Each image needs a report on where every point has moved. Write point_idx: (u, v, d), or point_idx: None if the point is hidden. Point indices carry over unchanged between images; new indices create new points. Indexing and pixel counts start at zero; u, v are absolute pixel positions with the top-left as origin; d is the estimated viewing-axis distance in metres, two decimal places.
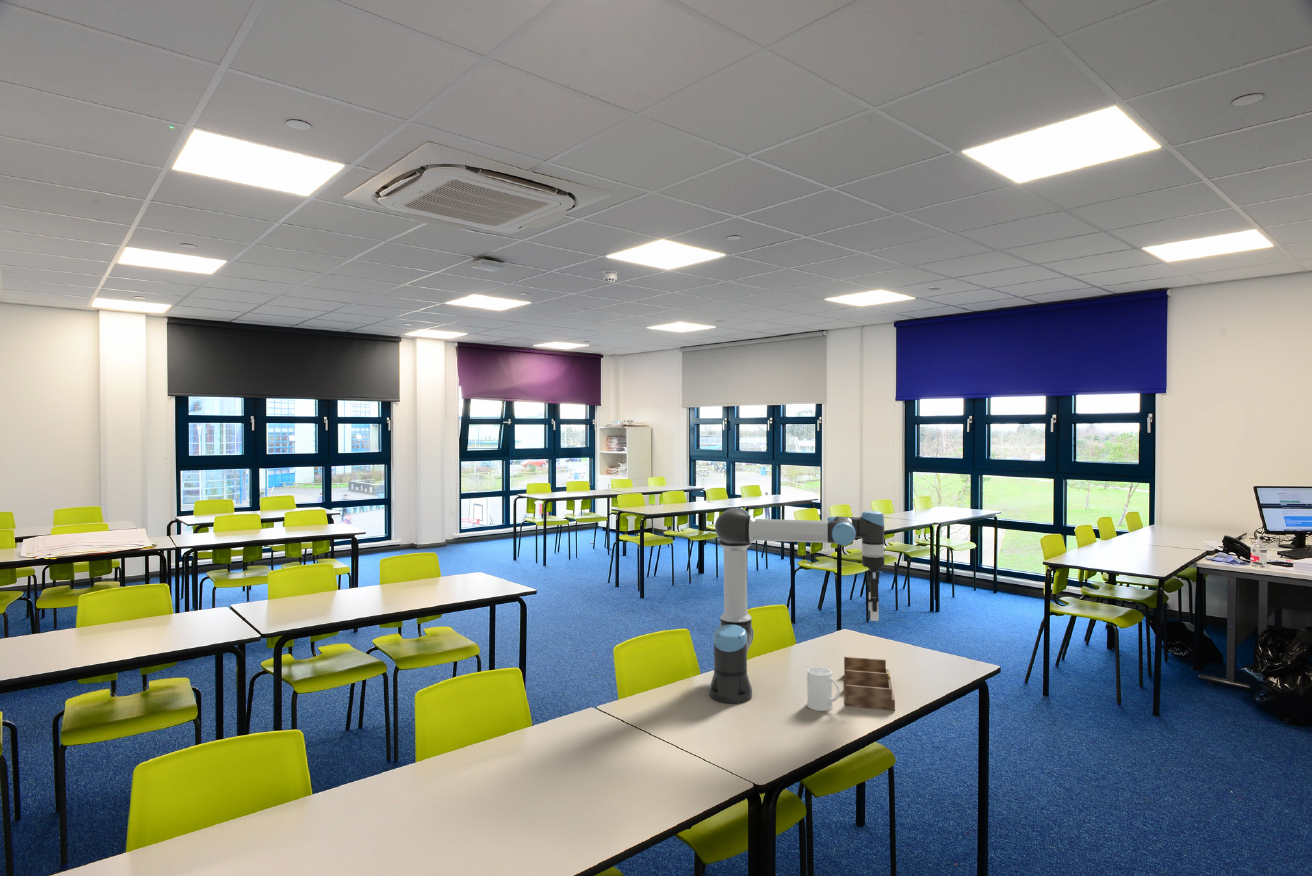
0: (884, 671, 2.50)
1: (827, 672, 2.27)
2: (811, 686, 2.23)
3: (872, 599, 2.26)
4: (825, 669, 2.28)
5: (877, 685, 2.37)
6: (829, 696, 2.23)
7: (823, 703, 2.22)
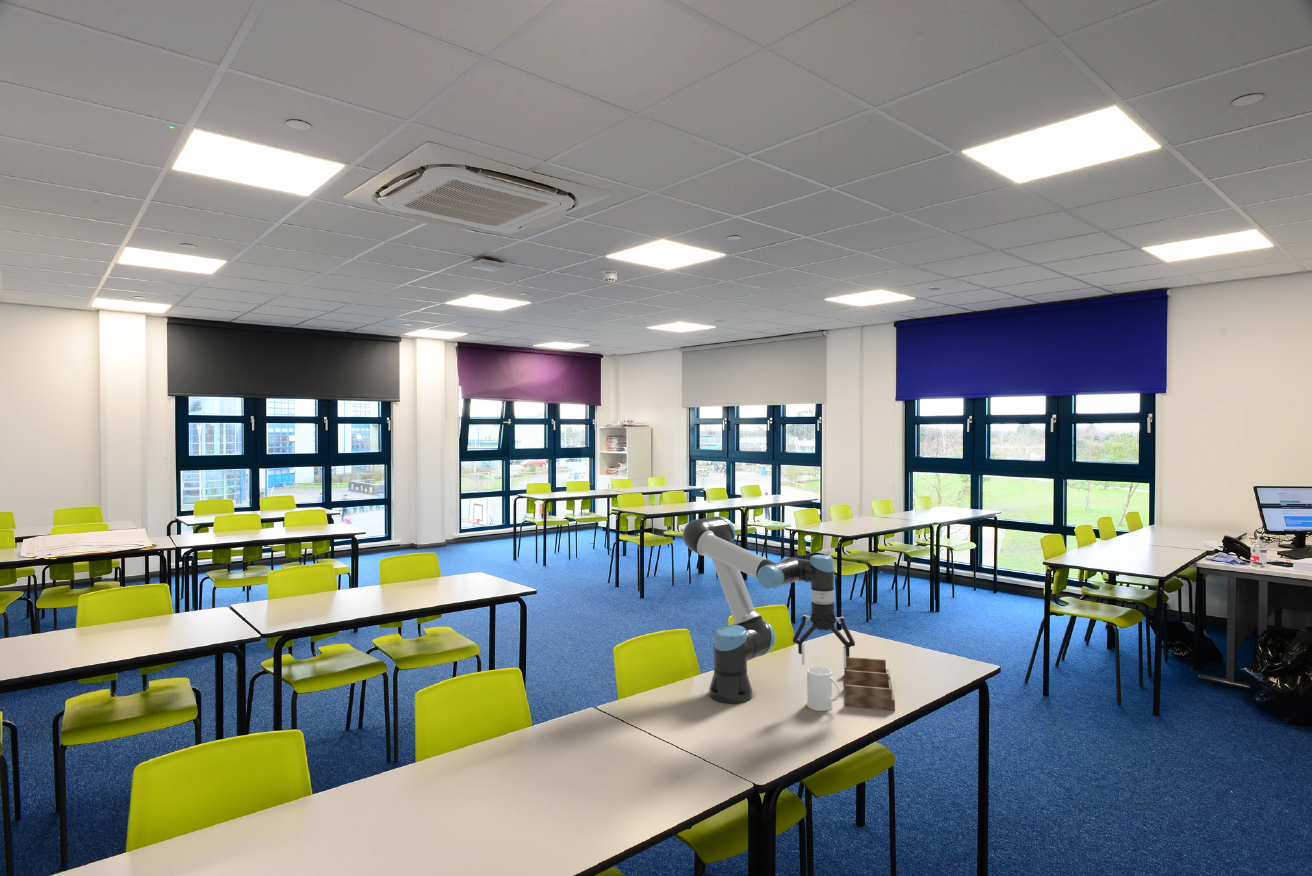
0: (884, 671, 2.50)
1: (827, 672, 2.27)
2: (811, 686, 2.23)
3: (793, 638, 2.28)
4: (825, 669, 2.28)
5: (877, 685, 2.37)
6: (829, 696, 2.23)
7: (823, 703, 2.22)
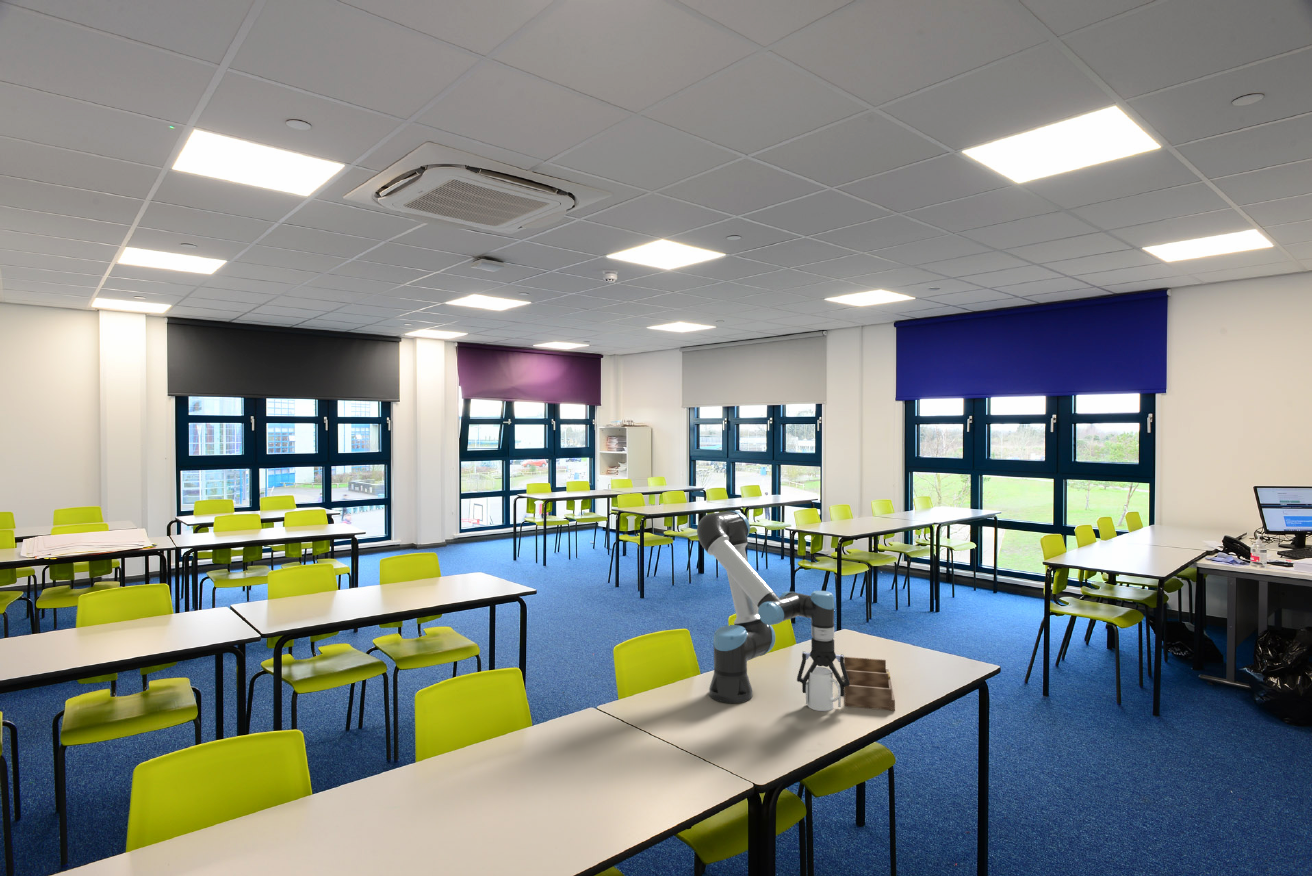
0: (884, 671, 2.50)
1: (828, 672, 2.27)
2: (812, 686, 2.23)
3: (797, 677, 2.27)
4: (826, 669, 2.28)
5: (877, 685, 2.37)
6: (830, 696, 2.23)
7: (824, 703, 2.22)
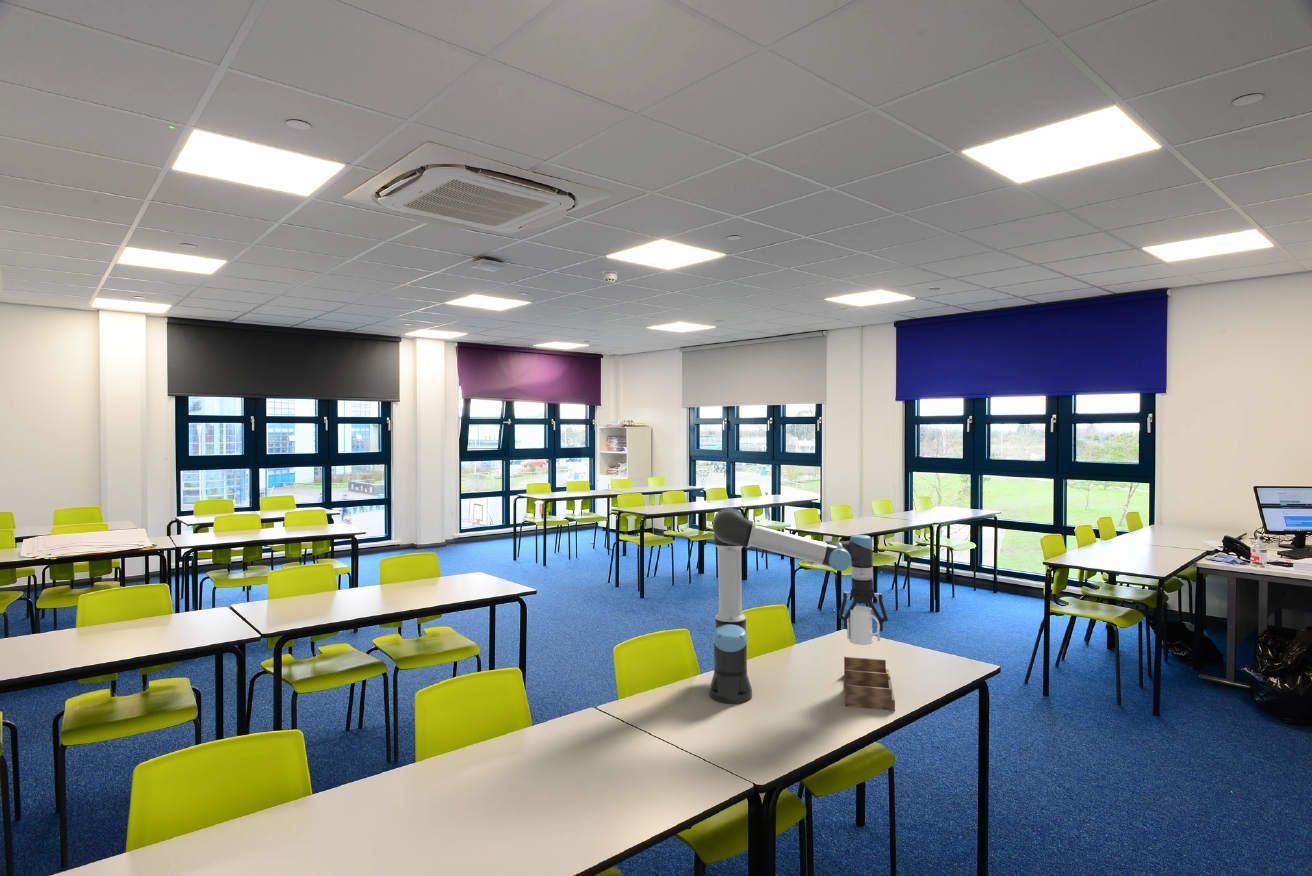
0: (884, 671, 2.50)
1: (867, 610, 2.46)
2: (853, 623, 2.42)
3: None
4: (865, 608, 2.46)
5: (877, 685, 2.37)
6: (870, 631, 2.41)
7: (864, 637, 2.40)
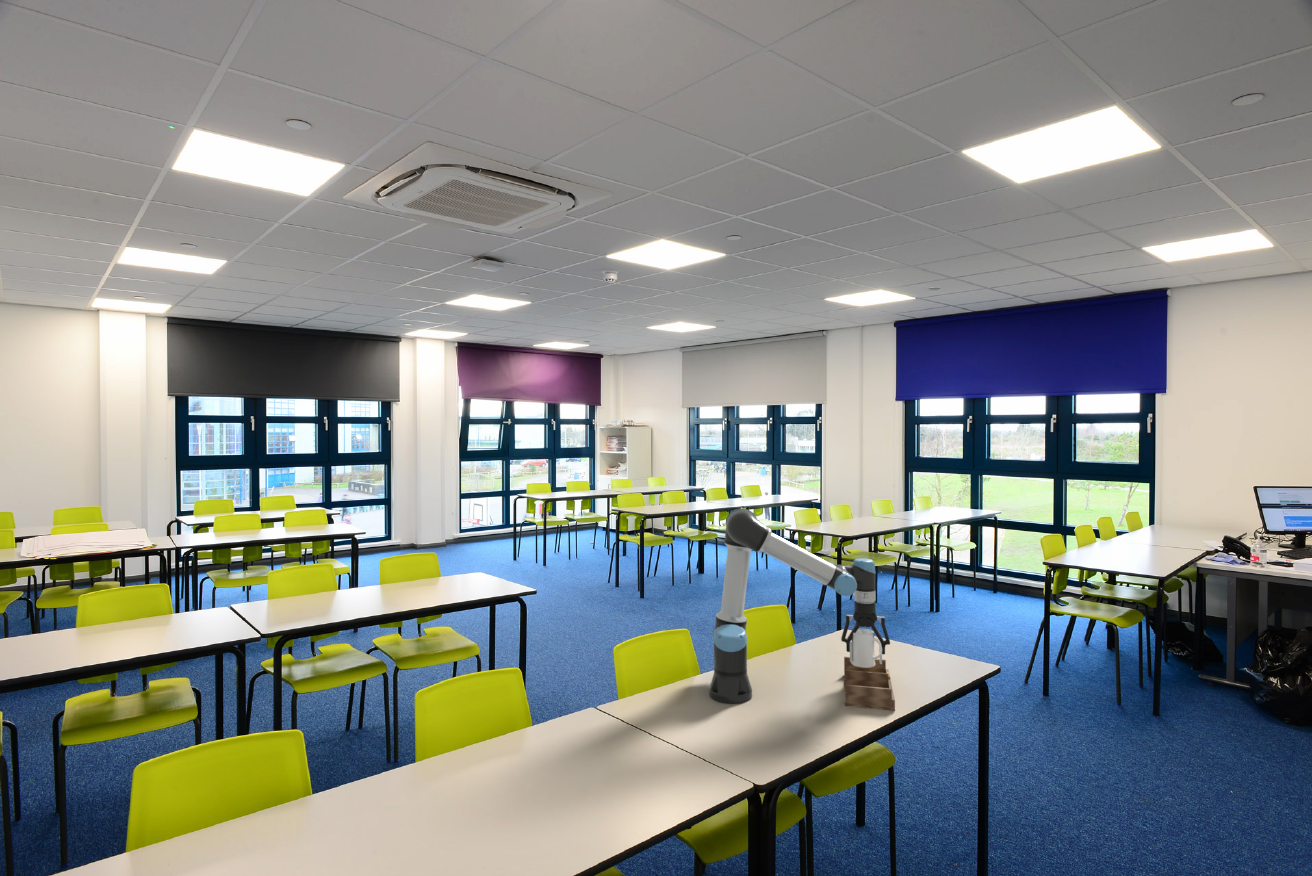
0: (884, 671, 2.50)
1: (870, 633, 2.48)
2: (856, 646, 2.44)
3: (841, 638, 2.48)
4: (868, 630, 2.48)
5: (877, 685, 2.37)
6: (872, 654, 2.43)
7: (867, 660, 2.42)
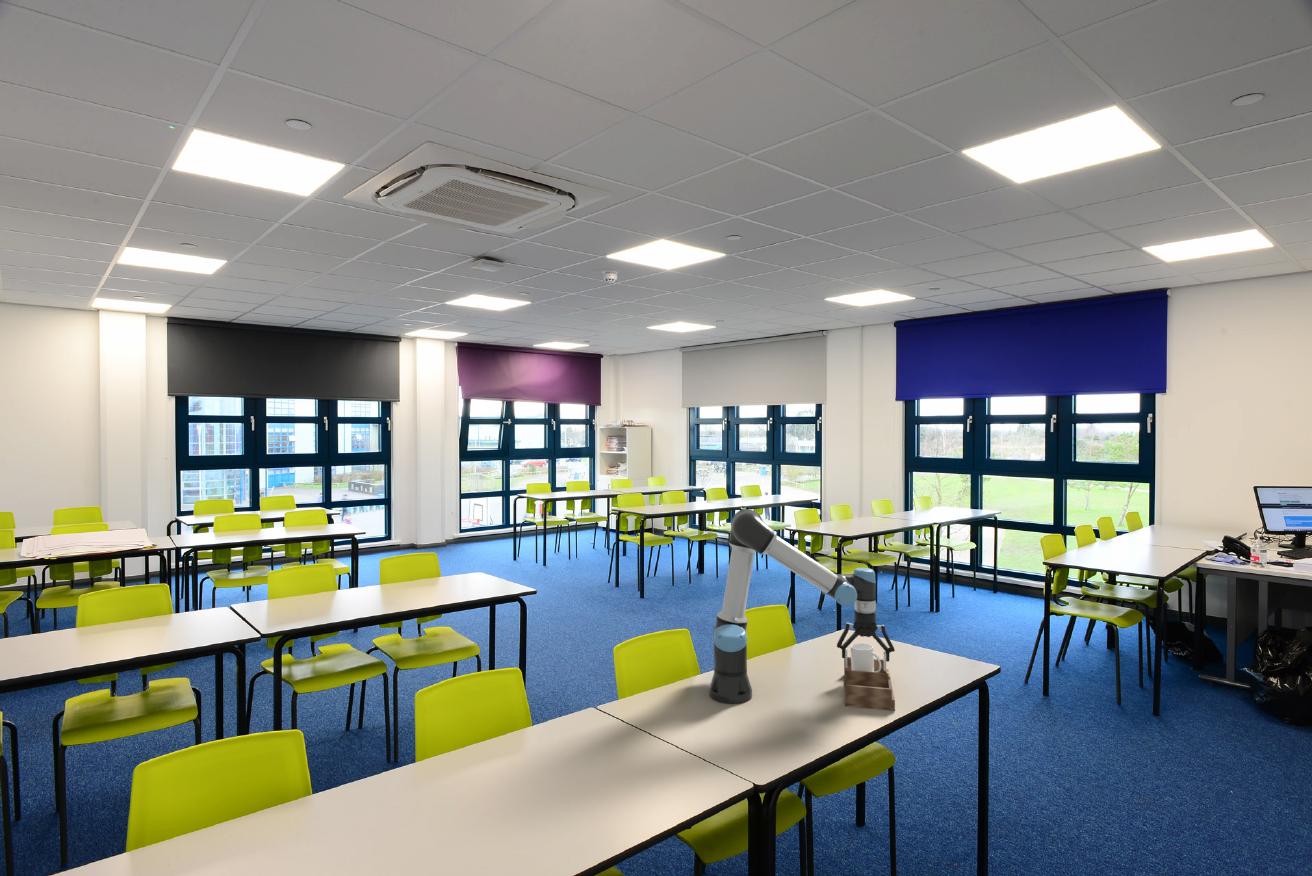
0: (884, 671, 2.50)
1: (869, 648, 2.48)
2: (855, 661, 2.44)
3: (837, 644, 2.48)
4: (867, 645, 2.49)
5: (877, 685, 2.37)
6: (872, 669, 2.43)
7: None
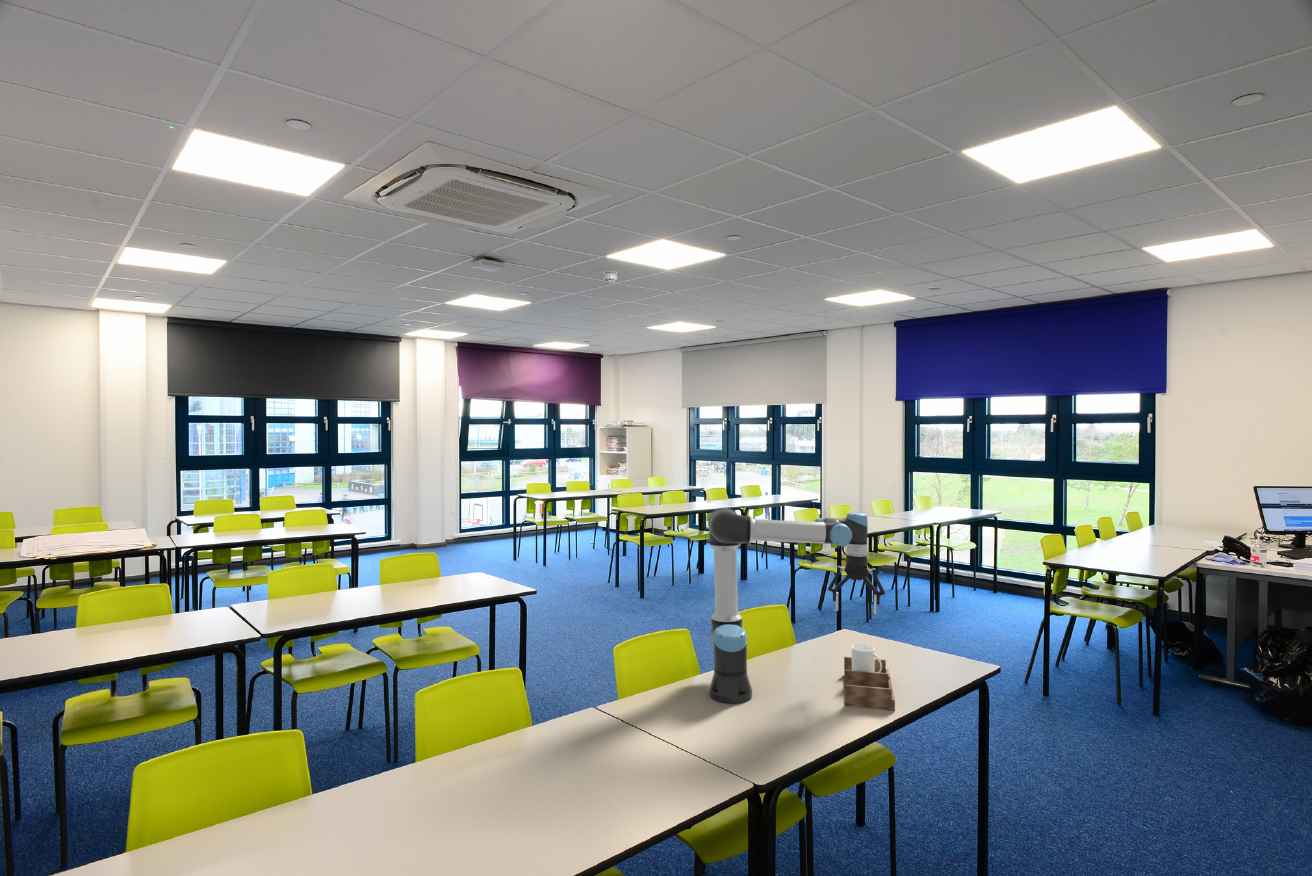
0: (884, 671, 2.50)
1: (870, 649, 2.48)
2: (855, 661, 2.44)
3: (828, 587, 2.51)
4: (868, 646, 2.48)
5: (877, 685, 2.37)
6: (872, 670, 2.43)
7: None
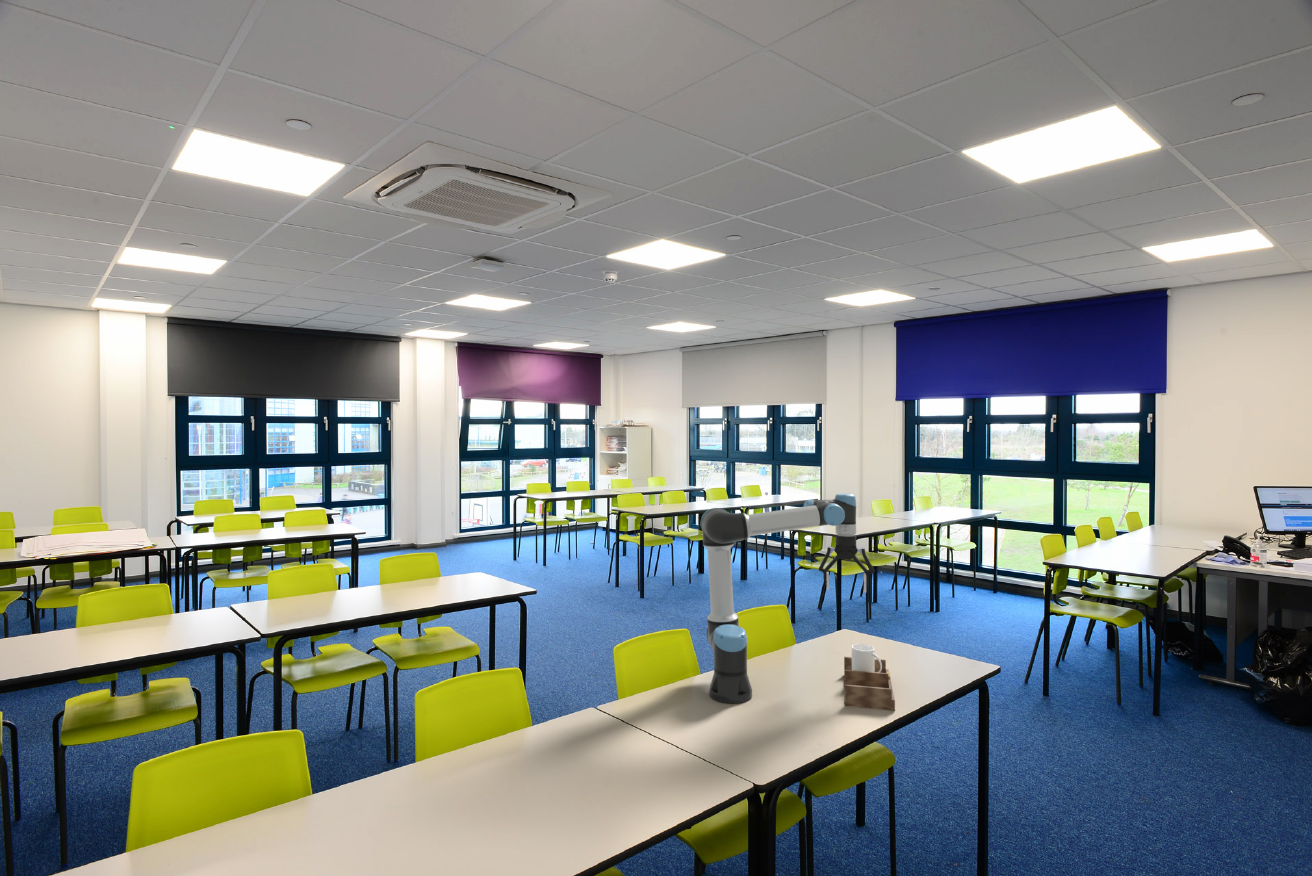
0: (884, 671, 2.50)
1: (870, 649, 2.48)
2: (855, 661, 2.44)
3: None
4: (868, 646, 2.48)
5: (877, 685, 2.37)
6: (872, 670, 2.43)
7: None
